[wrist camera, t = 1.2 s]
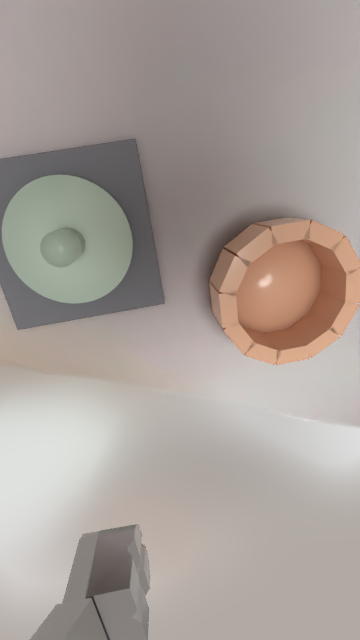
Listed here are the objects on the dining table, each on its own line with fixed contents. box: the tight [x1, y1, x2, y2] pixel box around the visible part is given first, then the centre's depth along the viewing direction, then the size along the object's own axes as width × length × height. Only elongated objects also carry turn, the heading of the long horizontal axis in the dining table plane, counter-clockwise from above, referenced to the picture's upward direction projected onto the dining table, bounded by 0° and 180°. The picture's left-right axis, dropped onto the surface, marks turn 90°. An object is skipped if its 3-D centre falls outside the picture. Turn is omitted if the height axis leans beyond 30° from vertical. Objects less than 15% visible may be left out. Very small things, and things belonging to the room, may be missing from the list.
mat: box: [0, 139, 165, 330], centre depth 31 cm, size 16×16×1 cm
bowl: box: [209, 217, 360, 365], centre depth 33 cm, size 14×14×6 cm
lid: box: [2, 175, 133, 304], centre depth 29 cm, size 12×12×5 cm
